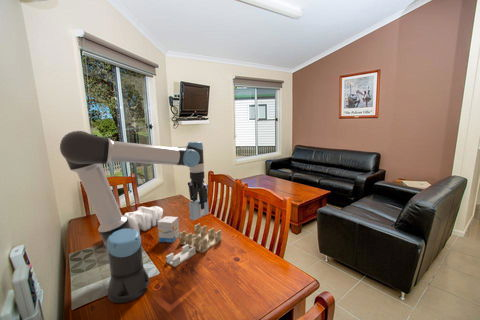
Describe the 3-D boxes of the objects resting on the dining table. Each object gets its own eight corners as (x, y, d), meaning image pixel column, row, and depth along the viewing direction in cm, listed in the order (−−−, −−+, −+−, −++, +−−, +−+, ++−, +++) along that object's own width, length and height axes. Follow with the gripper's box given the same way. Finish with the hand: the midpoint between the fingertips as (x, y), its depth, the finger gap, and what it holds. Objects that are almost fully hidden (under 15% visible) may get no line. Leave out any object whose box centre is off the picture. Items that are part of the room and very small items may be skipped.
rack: (202, 253, 115) (201, 242, 114) (179, 243, 124) (179, 233, 124) (221, 240, 127) (221, 230, 126) (199, 232, 136) (199, 223, 136)
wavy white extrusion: (118, 243, 127) (116, 225, 125) (104, 235, 136) (102, 218, 135) (170, 220, 155) (169, 205, 154) (155, 215, 165) (154, 201, 163)
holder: (174, 267, 104) (174, 260, 103) (165, 262, 108) (165, 256, 107) (196, 253, 114) (195, 247, 114) (187, 249, 118) (187, 243, 118)
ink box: (172, 243, 125) (171, 222, 124) (158, 241, 127) (157, 221, 125) (179, 235, 134) (178, 216, 132) (166, 234, 135) (165, 215, 134)
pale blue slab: (193, 220, 118) (192, 203, 117) (189, 219, 120) (188, 202, 118) (208, 213, 127) (207, 197, 125) (204, 212, 128) (204, 196, 127)
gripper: (213, 171, 118) (215, 214, 121) (191, 168, 127) (194, 208, 131) (202, 174, 112) (205, 219, 115) (181, 171, 121) (184, 213, 125)
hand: (199, 213), depth 123 cm, fingers closed on pale blue slab, 3 cm apart
